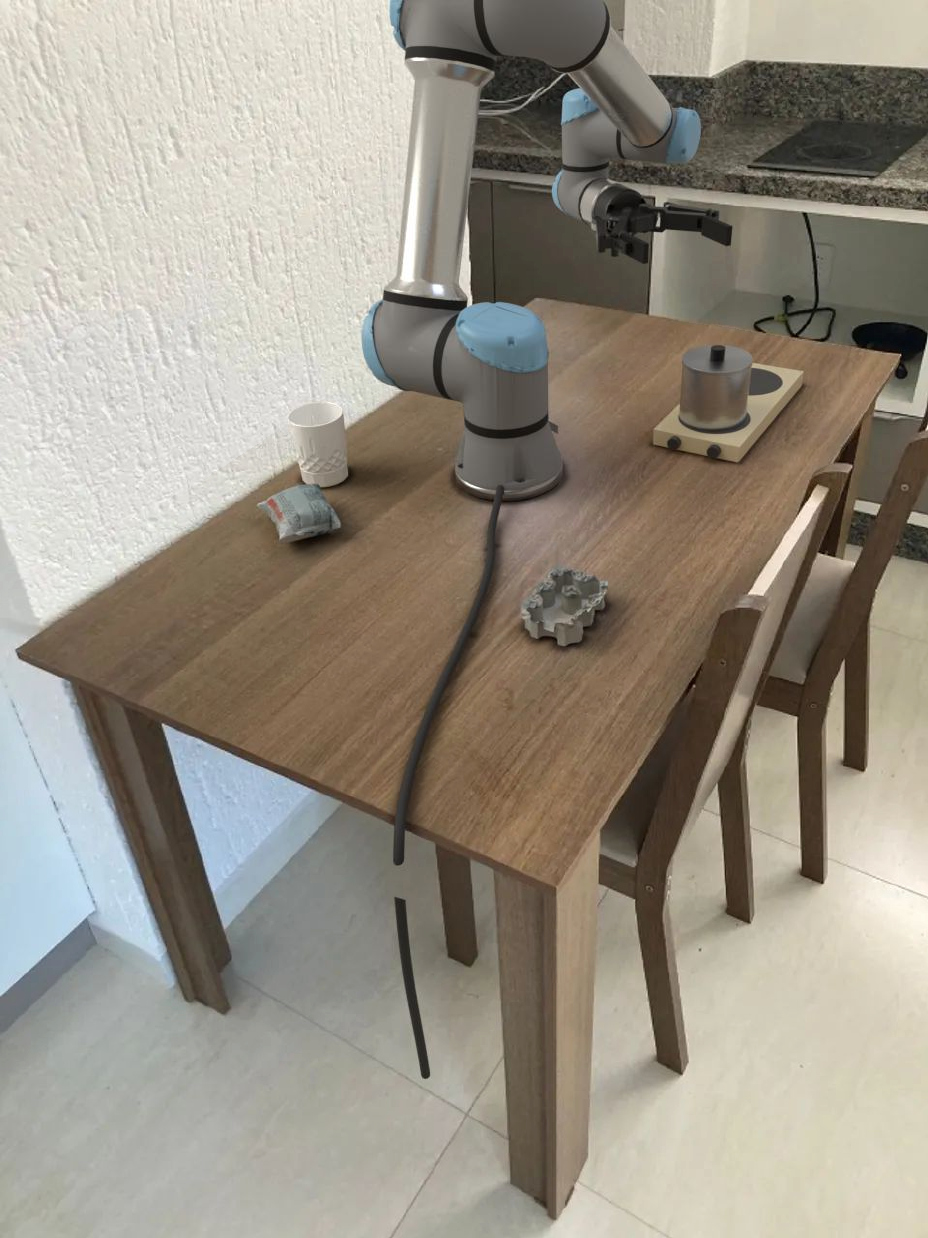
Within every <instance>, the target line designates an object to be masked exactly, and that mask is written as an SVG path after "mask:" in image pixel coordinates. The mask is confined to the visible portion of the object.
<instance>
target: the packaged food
mask: <svg viewBox="0 0 928 1238" xmlns="http://www.w3.org/2000/svg"><path fill="white" fill-rule="evenodd" d="M256 507H257V508H258V509H260V510H261V511H262V512H264V513H265V514H266V515H267V516H268V517H269V518H270V519H271V521H272V523H274V525H275V527H276V531H277V533H278V536H279V539H278V543H279V544H280V545H282V544H284V543H288V544H289V543H293V542H297V541H300V540H305V539H309V538H313V537H316V536H321V535H324V534H329V533H330V534H331V533H332V532H335V531H336V530H338V529H340V528H341V527H342V523H341V519H340V518H339V517H338V514H337V513H336V511H335V509H334V508H333V506H332V505H331V504H330V502H329V501H328V499H327V497H326V496H325V495H324V493H323V492H322V487H320V486H319V484H306V483H304V484H297V485H295V486H292V487H288V488H286V489H283V490H281V491H279V492H278V493H274V494H272V495H271V496H270V497H268V498H267V499H266V500H263V501H262V502H258V503H257V504H256Z"/></svg>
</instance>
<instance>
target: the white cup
mask: <svg viewBox="0 0 928 1238" xmlns="http://www.w3.org/2000/svg"><path fill="white" fill-rule="evenodd" d="M344 415H345V414H344V408H343V407H342V406H341V405H339V404H337V403H334V402H331V401H313V402H308V403H304V404H301V405H299V406H296V407H294V408H293V409H291V410H290V411H289V412H288V414H287V415H286V420H287V423H288V428H289V432H290V436H291V437H290V438H291V441H292V445H293V446H292V447H293V451H294V452H295V456H296V460H297V463H298V465H299V470H300V475H301V479H302V481H303V482H304V484H319V486H320V488H328V487H333V486H336V485H339V484H340V483H343V482H345V480H346V479H347V478H348V477H349V466H348V446H347V434H346V425H345V416H344Z"/></svg>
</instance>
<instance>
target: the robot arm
mask: <svg viewBox="0 0 928 1238" xmlns="http://www.w3.org/2000/svg"><path fill="white" fill-rule="evenodd" d="M389 23H390V26H391V27H393V31H392V35H393V39H394V40H395V42H396V44H397V45H398V46H399V47H400V48H401V49H402V50H403V51H404V66H405V67H406V69H407V71H408V72H409V73H410V75H411V76H412V78H413V80H414V85H413V93H412V103H411V104H412V105H411V116H410V125H409V136H408V146H407V147H408V148H407V156H406V157H407V158H406V167H405V179H404V189H403V200H402V212H401V222H400V229H399V230H400V232H399V243H398V252H397V263H396V274H395V276H394V278H392V280H390V281H389V282H388V283H387V284H386V285H384V286H383V292H382V299H381V300H378V301H376V302H375V303H373V304H372V305H371V307H370V308H369V309H368V314H367V315H366V316H365V317H364V320H363V324H362V328H361V350H362V355H363V358H364V361H365V364H366V366H367V368H368V369H369V371H371V374H372V375H373V377H374V378H375V379H377V380H378V381H379V382H381V383H383V384H385V385H388V386H390V387H394V388H396V389H398V390H400V391H403V392H415V393H418V394H422V395H427V396H431V397H435V398H440V399H444V400H449V401H454V402H458V403H460V404H462V411H463V423H464V429H463V432H462V436H461V440H460V443H459V447H458V451H457V454H456V458H455V464H454V473H455V474H454V475H455V481H456V483H457V485H458V487H459V488H460V489H461V490H463V491H464V492H465V493H467V494H469V495H471V496H474V497H476V498H479V499H483V500H488V501H493V504H492V507H491V512H490V516H489V521H488V528H487V535H486V536H487V537H486V560H485V565H484V570H483V573H482V576H481V581H480V584H479V586H478V590H477V593H476V596H475V598H474V601H473V603H472V606H471V609H470V611H469V614H468V616H467V617H466V620H465V623H464V625H463V627H462V629H461V632H460V634H459V636H458V638H457V641H456V643H455V645H454V647H453V650H452V651H451V653H450V655H449V658H448V660H447V662H446V664H445V666H444V668H443V671H442V672H441V674H440V676H439V679H438V681H437V684H436V686H435V688H434V689H433V693H432V695H431V697H430V699H429V701H428V704H427V707H426V710H425V712H424V714H423V716H422V720H421V722H420V724H419V726H418V729H417V732H416V735H415V738H414V740H413V744H412V747H411V750H410V753H409V756H408V759H407V762H406V766H405V769H404V773H403V776H402V782H401V784H400V788H399V793H398V799H397V804H396V810H395V815H394V823H393V824H394V825H393V844H392V845H393V847H392V850H393V851H392V862H393V864H394V866H398V867H399V866H401V865H403V863H404V862H405V848H406V847H405V846H406V845H405V843H406V841H405V840H406V839H405V838H406V821H407V814H408V808H409V802H410V796H411V791H412V786H413V782H414V779H415V774H416V771H417V768H418V764H419V760H420V758H421V754H422V751H423V748H424V745H425V742H426V739H427V737H428V733H429V730H430V728H431V725H432V723H433V719H434V717H435V714H436V712H437V709H438V707H439V704H440V702H441V700H442V697H443V695H444V692H445V690H446V688H447V685H448V683H449V681H450V679H451V677H452V674H453V672H454V671H455V668H456V666H457V663H458V661H459V659H460V657H461V655H462V652H463V651H464V648H465V647H466V644H467V641H468V639H469V638H470V635H471V633H472V630H473V628H474V626H475V623H476V621H477V618H478V616H479V614H480V611H481V609H482V606H483V603H484V600H485V598H486V594H487V592H488V588H489V585H490V583H491V579H492V574H493V572H494V571H493V570H494V565H495V559H496V558H495V556H496V532H497V531H496V530H497V524H498V520H499V515H500V510H501V506H502V502H511V501H512V502H513V501H521V500H526V499H531V498H535V497H539V496H540V495H543V494H544V493H547V492H549V491H550V490H552V489H553V488H555V487H556V486H557V485H558V484H559V482H560V481H561V480H562V478H563V473H564V471H563V470H564V469H563V466H564V465H563V457H562V454H561V452H560V450H559V448H558V444H557V442H556V438H555V436H554V433H555V434H556V435H559V425H557V424H555V423H554V422H552V421H550V417H549V358H550V350H549V347H548V338H547V330H546V327H545V325H544V323H543V320H542V319H541V318H540V317H539V316H538V314H536V313H535V312H533V311H531V310H530V309H528V308H527V307H524V306H522V305H521V306H520V305H518V304H514V303H510V302H502V301H496V302H494V303H491V302H489V301H486V302H485V301H484V302H478V303H473V304H471V305H468V302H469V297H468V296H467V294H466V293H465V292H464V290H463V289H462V288H461V286H460V275H461V267H462V258H463V248H464V241H465V240H464V239H465V230H466V223H467V214H468V208H469V207H468V205H469V198H470V188H471V180H472V170H473V163H474V154H475V146H476V136H477V127H478V120H479V119H478V118H479V113H480V111H479V110H480V102H481V93H482V90H483V88H484V87H485V86H486V85H487V84H488V83H489V82H490V81H491V80H493V79H494V78H495V75H496V66H497V59H498V57H525V58H531V59H535V60H538V61H541V62H544V63H545V64H546V66H548V67H549V68H550V69H551V70H553V72H557V73H558V74H566V75H567V76H568V77H569V78H570V79H571V80H572V81H573V82H574V84H576V85H577V86H578V87H579V88H574V89H572V90H569V91H568V92H566V93H565V94H564V95H563V97H562V107H561V122H560V126H561V151H562V152H561V153H562V154H561V155H562V157H561V158H562V166H561V170H560V171H559V172H558V173H557V175H556V177H555V179H554V181H553V184H552V186H551V197H552V200H553V202H554V205H555V206H556V207H557V208H558V209H559V210H560V212H563V213H564V214H565V215H566V216H567V217H569V218H570V219H574V220H576V221H579V222H581V223H583V224H584V225H586V226H589V227H591V233H590V234H591V235H592V236H594V237H595V242H596V251H597V253H599V254H603V253H606V251H607V250H608V249H610V252H609V253H610V255H609V256H610V257H612V258H616V257H619V256H620V255H619V253H621V254H623V255H625V256H627V257H629V258H631V259H633V260H635V261H637V262H638V263H640V264H642V265H646V264H648V263H649V252H650V251H649V247H650V243H649V242H647V241H645V240H643V239H641V238H639V237H637V236H636V235H637V234H638V233H640V234H647V233H648V232H649V233H659V234H660V233H662V234H663V233H664V232H665V231H667V230H668V231H680V232H692V233H701V234H700V235H701V236H702V237H704V238H706V239H709V240H711V241H713V242H715V243H717V244H720V245H722V246H724V247H730V246H732V239H733V238H732V236H733V227H734V226H733V225H730V224H728V223H727V222H724V221H722V220H720V210H717V209H712V208H703V207H697V206H689V205H682V204H677V203H674V202H670V201H664V202H663V205H662V206H656V205H651V204H649V203H647V202H646V199H645V198H644V196H643V195H642V194H641V193H640V192H639V191H638V190H635V189H633V188H631V187H629V186H626V185H625V184H623V183H620V182H618V181H615V180H612V179H609V166H610V159H614V160H628V161H637V162H638V161H639V162H648V163H658V164H666V165H669V164H687V163H689V162H690V161H691V160H692V159H693V158H694V157H695V155H696V153H697V150H698V148H699V144H700V141H701V133H702V123H701V118H700V115H699V114H698V112H697V111H696V110H694V109H689V108H684V107H682V106H680V107H672V105H671V103H670V102H669V100H668V99H667V98H666V97H665V96H664V94H663V93H662V92H661V90H660V89H659V88H658V86H657V84H655V82H654V81H653V80H652V79H651V77H650V76H649V75H648V73H647V71H646V70H645V69H644V68H643V67H642V65H641V64H640V63H639V61H638V60H637V59H636V57H635V56H634V55H633V53H632V52H631V50H630V49H629V48H628V46H627V45H626V44H625V42H624V41H623V40H622V39H621V37H620V36H619V35H618V33H617V32H616V31H615V30H614V27H612V17H611V13H610V11H609V8H608V5H607V4H606V2H605V1H604V0H389ZM658 221H659V226H658ZM393 900H394V907H395V908H394V909H395V910H394V911H395V921H396V931H397V940H398V942H397V943H398V948H399V949H398V950H399V956H400V964H401V971H402V972H401V973H402V978H403V984H404V990H405V991H404V992H405V996H406V1002H407V1006H408V1012H409V1017H410V1022H411V1027H412V1032H413V1037H414V1043H415V1049H416V1053H417V1054H416V1055H417V1058H418V1065H419V1072H420V1076H421V1078H422V1079H424V1080H428V1079H429V1078H430V1077H431V1068H430V1062H429V1055H428V1051H427V1050H428V1049H427V1044H426V1038H425V1033H424V1027H423V1021H422V1017H421V1012H420V1005H419V1000H418V995H417V989H416V981H415V976H414V970H413V961H412V954H411V953H412V952H411V944H410V935H409V926H408V913H407V901H406V899H405V898H400V897H397V896H394V899H393Z"/></svg>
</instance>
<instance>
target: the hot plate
mask: <svg viewBox="0 0 928 1238" xmlns="http://www.w3.org/2000/svg"><path fill="white" fill-rule="evenodd" d="M804 372H805V371H804V370H799V369H792V368H785V367H779V366H775V365H774V366H773V365H769V364H762V363H755V362H753V364H752V366H751V376H750V385H749V394H748V404H747V413H746V419H745V421H744V422H743V424H741V425H740V426H738V427H736V428H733V429H729V430H723V431H705V430H699V429H695V428H692V427H690V426H687V425H686V424H684V423H683V422H682V421H681V420H680V417H679V411H680V403H679V404H677V405H676V406H675V407H674V408H673V409H672V411H670V412H669V413H668V414H667V415H666V416H665V417H664V418H663V419H662V420H661V421H660V422H659V423H658V424H657V425H656V426H655V427H654V428H653V432H652V433H653V437H652V445H654V446H659V447H663V448H668V449H669V450H671V451H683V452H686V453H692V454H695V455H696V454H697V455H700V456H705V457H708V458H709V459H718V460H725V461H729V462H734V463H737V464H738V463H740V461H741V460H742V459H743V457H744V456H745V455H746V454H747V453H748V451H749V450H750V449H751V448H752V447H753V445H754V444H755V443H756V442H757V440H758V439H759V438H760V437H761V436H762V435H763V433H764V432H765V431H766V430H767V429H768V427H769V426H770V425H771V424H772V423H773V422H774V420H775V419H776V418H777V416H778V415H779V414H780V413H781V412H782V410H783V409H784V408H785V407H786V406H787V405H788V403H789V402H790V401H791V399H793V398H794V397H795V395H796V393H797V392H798V391H799V390H800V389H801V387H802V386H803V381H804Z"/></svg>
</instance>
